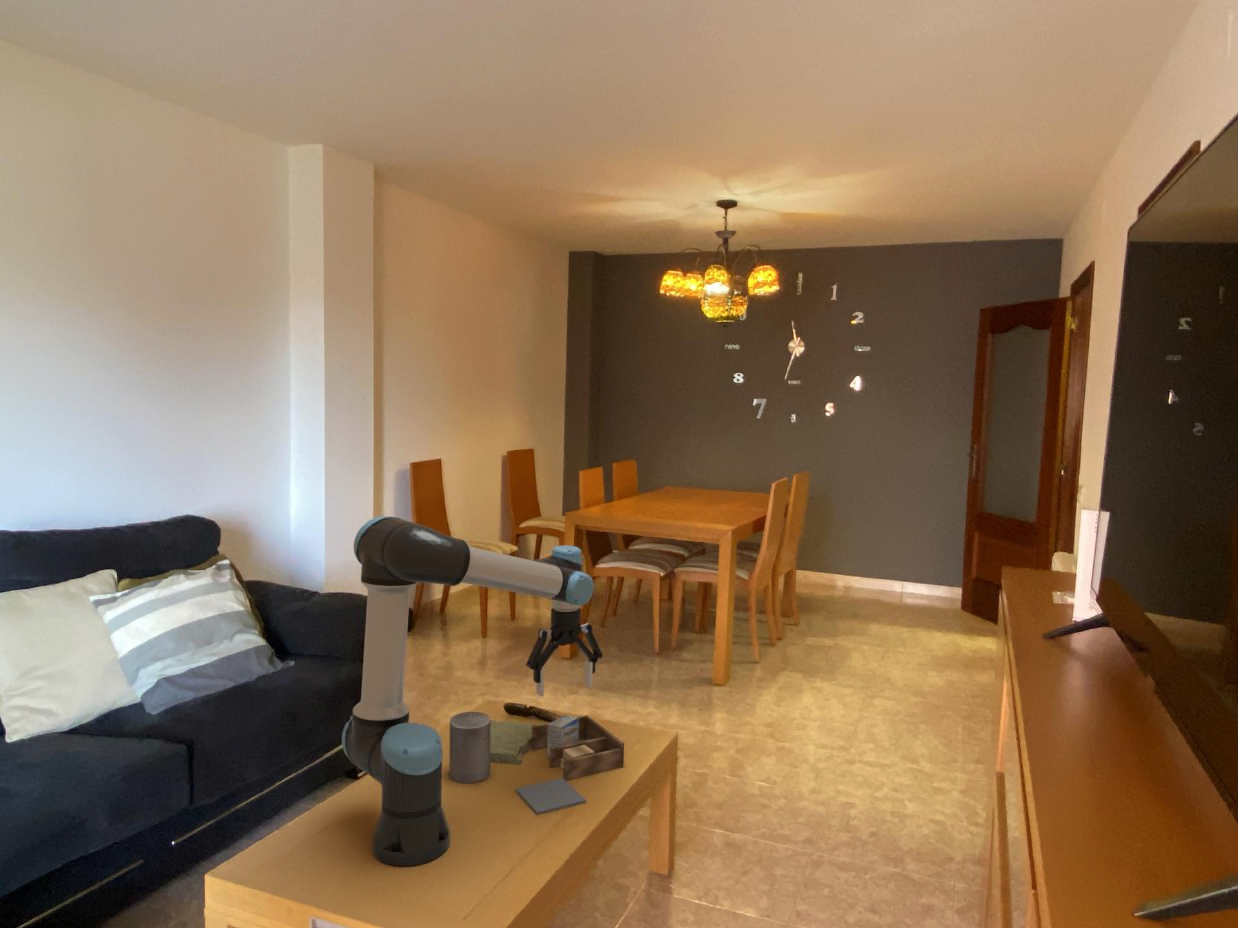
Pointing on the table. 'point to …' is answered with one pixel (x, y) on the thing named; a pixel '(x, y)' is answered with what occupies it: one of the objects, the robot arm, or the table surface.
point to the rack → (598, 740)
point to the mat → (550, 796)
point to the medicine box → (562, 732)
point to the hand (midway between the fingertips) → (564, 690)
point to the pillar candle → (469, 747)
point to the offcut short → (576, 752)
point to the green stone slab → (509, 741)
